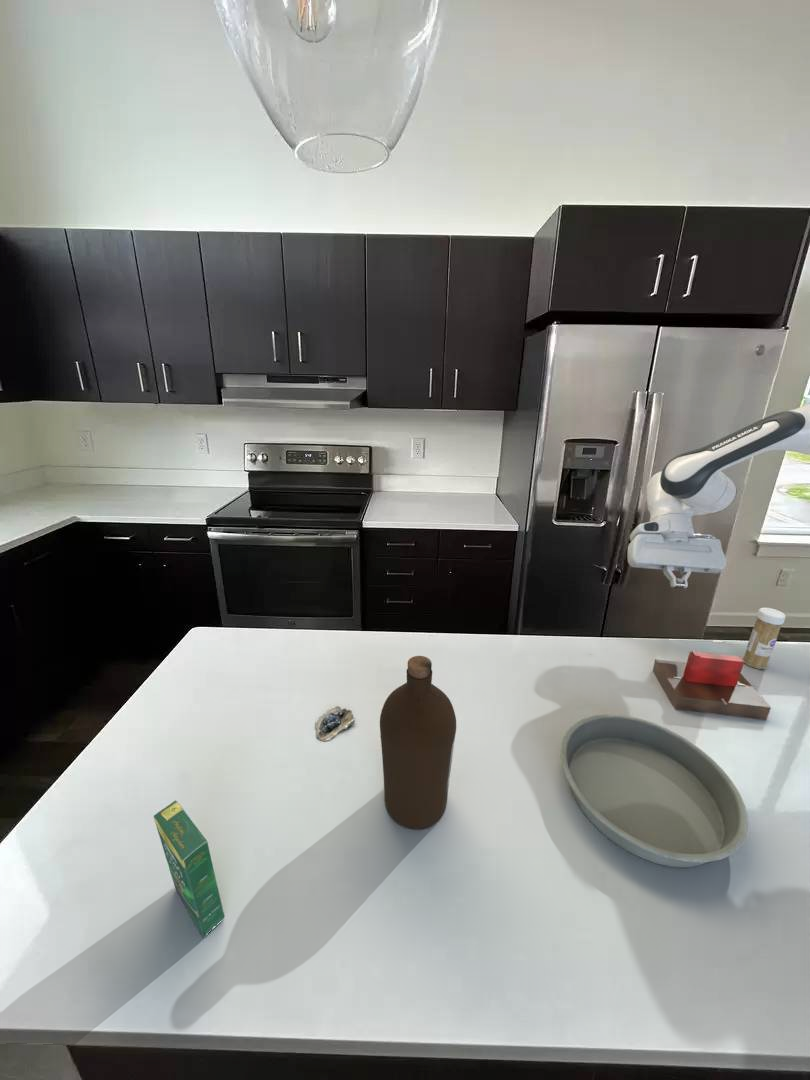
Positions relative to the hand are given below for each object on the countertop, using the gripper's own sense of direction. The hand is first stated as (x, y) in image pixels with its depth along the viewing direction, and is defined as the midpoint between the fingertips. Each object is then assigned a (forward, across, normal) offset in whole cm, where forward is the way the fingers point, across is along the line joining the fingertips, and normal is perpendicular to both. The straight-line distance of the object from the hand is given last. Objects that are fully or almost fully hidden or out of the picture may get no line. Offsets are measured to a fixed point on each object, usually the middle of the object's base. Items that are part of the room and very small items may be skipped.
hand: (679, 587), depth 97 cm
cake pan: (+42, +19, +19) cm, 50 cm away
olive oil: (+47, +53, +24) cm, 75 cm away
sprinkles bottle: (+14, -18, -9) cm, 24 cm away
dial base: (+23, -2, 0) cm, 23 cm away
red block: (+21, -2, +2) cm, 21 cm away
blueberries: (+39, +70, +16) cm, 82 cm away
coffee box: (+60, +77, +37) cm, 104 cm away
